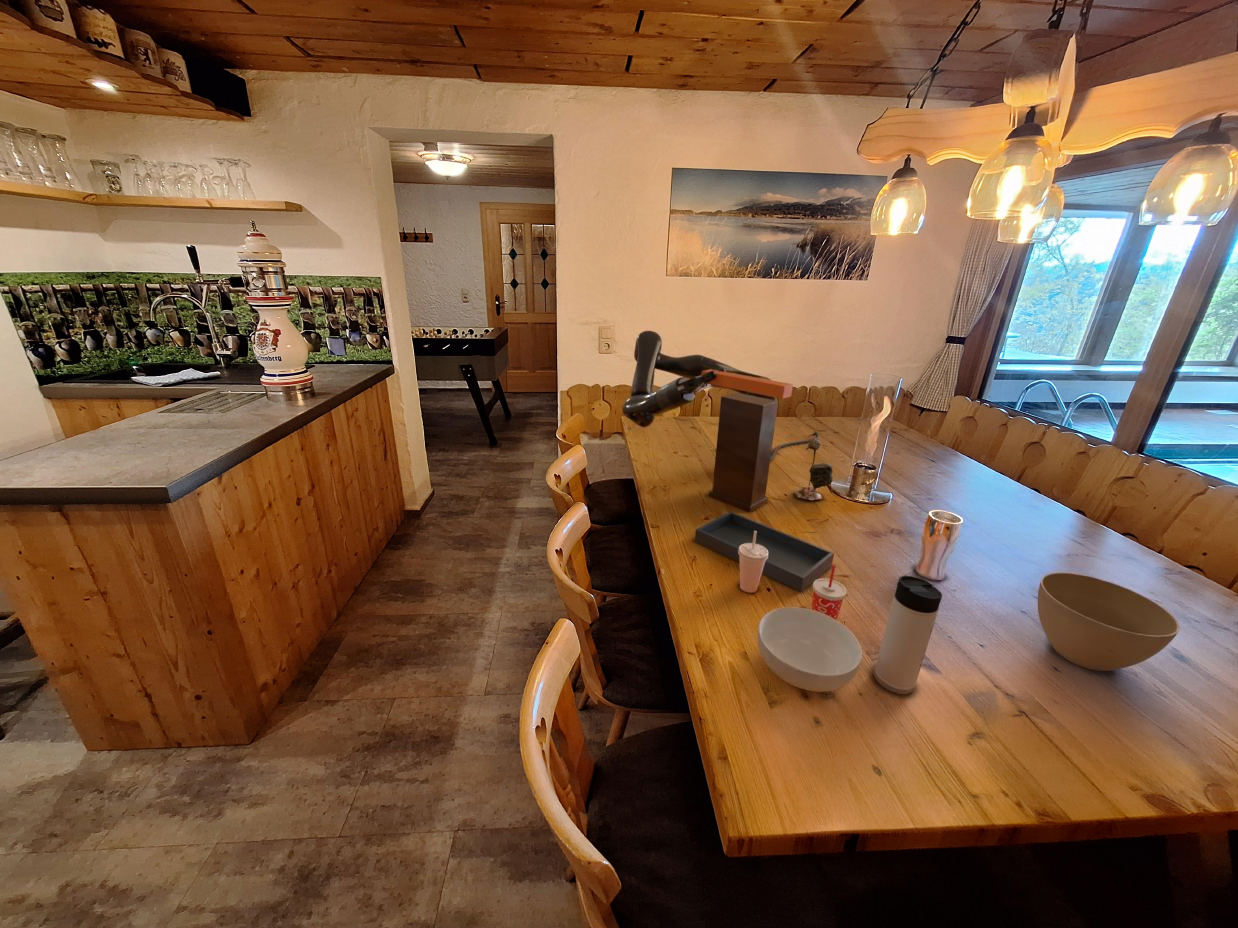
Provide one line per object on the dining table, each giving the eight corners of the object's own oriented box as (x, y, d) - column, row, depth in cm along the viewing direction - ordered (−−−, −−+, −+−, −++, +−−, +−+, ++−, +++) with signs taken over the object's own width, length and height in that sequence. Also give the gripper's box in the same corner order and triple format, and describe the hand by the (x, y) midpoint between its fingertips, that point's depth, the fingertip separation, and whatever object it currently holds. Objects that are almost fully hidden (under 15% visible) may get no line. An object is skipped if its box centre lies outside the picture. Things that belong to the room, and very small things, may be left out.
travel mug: (864, 668, 87) (888, 573, 80) (899, 666, 88) (926, 571, 81) (885, 696, 81) (913, 596, 74) (922, 693, 82) (953, 594, 75)
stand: (726, 487, 161) (736, 391, 149) (767, 502, 151) (781, 400, 139) (708, 495, 155) (717, 396, 143) (749, 511, 144) (763, 406, 133)
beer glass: (942, 568, 118) (959, 512, 112) (950, 584, 112) (968, 526, 106) (910, 562, 120) (924, 507, 115) (915, 578, 114) (931, 520, 108)
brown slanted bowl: (1117, 706, 80) (1147, 648, 76) (1000, 636, 96) (1019, 584, 91) (1170, 674, 87) (1201, 619, 83) (1053, 613, 102) (1074, 564, 98)
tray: (729, 522, 138) (730, 511, 137) (831, 565, 118) (834, 552, 117) (694, 541, 128) (695, 529, 127) (800, 591, 108) (803, 578, 107)
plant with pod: (829, 505, 149) (841, 443, 142) (791, 498, 154) (801, 437, 147) (832, 495, 156) (843, 436, 149) (795, 488, 161) (804, 430, 153)
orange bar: (710, 380, 133) (711, 369, 132) (791, 396, 117) (793, 384, 116) (700, 382, 130) (701, 370, 129) (782, 399, 114) (784, 386, 113)
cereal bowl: (736, 669, 87) (740, 637, 84) (779, 624, 98) (784, 594, 95) (832, 726, 76) (841, 691, 73) (868, 668, 87) (876, 636, 85)
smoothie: (760, 580, 112) (768, 526, 107) (765, 597, 106) (774, 541, 101) (732, 578, 113) (738, 524, 108) (735, 595, 107) (742, 539, 102)
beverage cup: (799, 623, 98) (810, 563, 93) (815, 611, 102) (827, 553, 97) (828, 639, 94) (841, 578, 89) (844, 626, 98) (857, 566, 93)
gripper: (653, 385, 136) (698, 362, 123) (686, 379, 145) (731, 356, 132) (662, 411, 136) (708, 390, 123) (694, 403, 145) (740, 382, 132)
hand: (720, 373), depth 128 cm, fingers closed on orange bar, 4 cm apart
